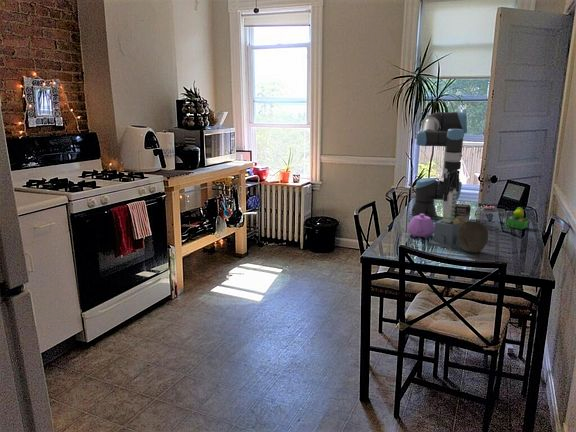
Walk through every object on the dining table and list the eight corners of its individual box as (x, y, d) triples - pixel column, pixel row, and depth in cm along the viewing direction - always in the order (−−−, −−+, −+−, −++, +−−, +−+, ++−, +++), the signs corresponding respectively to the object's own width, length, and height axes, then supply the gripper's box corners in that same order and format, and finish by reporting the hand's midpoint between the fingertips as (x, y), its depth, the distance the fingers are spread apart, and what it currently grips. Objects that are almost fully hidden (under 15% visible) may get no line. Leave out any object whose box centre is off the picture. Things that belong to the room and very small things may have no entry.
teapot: (432, 242, 235) (434, 220, 232) (404, 240, 240) (405, 217, 237) (435, 232, 254) (437, 211, 250) (409, 230, 259) (410, 209, 256)
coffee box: (449, 234, 249) (452, 206, 245) (450, 231, 255) (452, 203, 251) (468, 236, 246) (470, 207, 242) (467, 233, 252) (470, 204, 248)
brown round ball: (492, 256, 215) (496, 225, 212) (463, 257, 214) (466, 226, 211) (478, 246, 229) (481, 217, 225) (450, 247, 228) (453, 218, 224)
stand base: (428, 244, 234) (430, 219, 230) (441, 237, 245) (442, 213, 242) (451, 248, 226) (453, 223, 223) (463, 241, 238) (465, 217, 234)
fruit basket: (503, 226, 264) (505, 207, 262) (508, 223, 271) (510, 205, 268) (524, 230, 257) (527, 210, 254) (529, 227, 263) (532, 208, 260)
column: (441, 228, 233) (445, 188, 228) (444, 226, 236) (448, 186, 231) (451, 230, 230) (454, 189, 225) (454, 228, 233) (457, 187, 228)
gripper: (451, 163, 215) (447, 210, 220) (468, 159, 231) (464, 203, 236) (436, 162, 220) (433, 208, 225) (454, 158, 235) (450, 200, 241)
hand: (449, 205), depth 231 cm, fingers open, 9 cm apart
